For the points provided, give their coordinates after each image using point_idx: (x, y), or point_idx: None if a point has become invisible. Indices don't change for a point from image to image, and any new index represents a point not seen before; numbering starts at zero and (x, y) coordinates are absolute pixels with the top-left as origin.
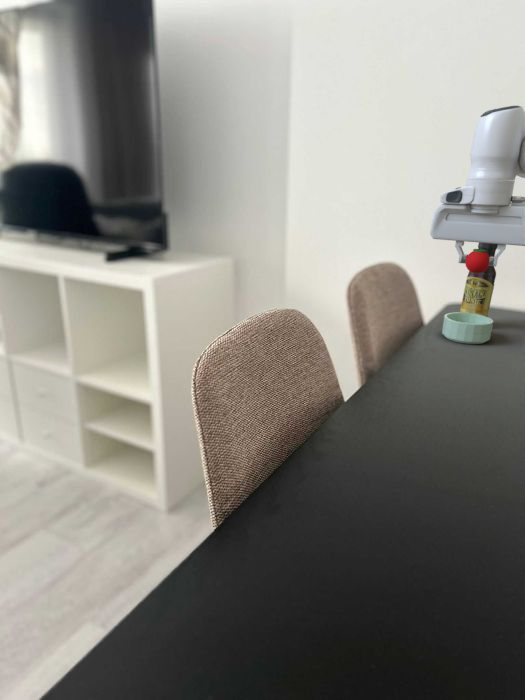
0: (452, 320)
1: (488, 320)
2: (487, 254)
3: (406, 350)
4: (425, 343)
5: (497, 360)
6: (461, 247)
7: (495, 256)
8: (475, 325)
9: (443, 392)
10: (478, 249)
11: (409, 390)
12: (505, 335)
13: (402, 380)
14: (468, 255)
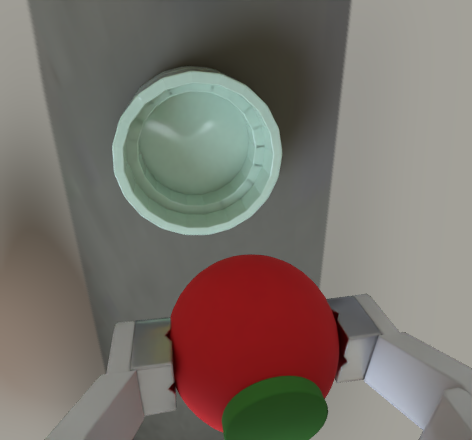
0: (160, 222)
1: (265, 126)
2: (330, 388)
3: (99, 318)
4: (115, 253)
5: None
6: (91, 434)
7: (377, 388)
8: (233, 225)
9: None
10: (268, 426)
11: (177, 435)
12: (307, 31)
13: (156, 420)
14: (190, 408)
